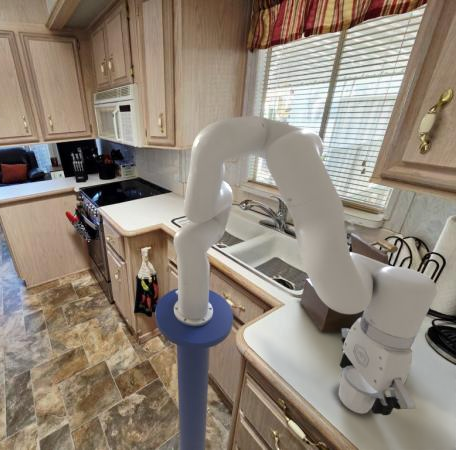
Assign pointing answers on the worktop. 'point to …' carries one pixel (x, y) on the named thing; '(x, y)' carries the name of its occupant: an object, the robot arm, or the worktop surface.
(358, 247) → the chest lid
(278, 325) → the worktop surface
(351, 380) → the white tapered cup
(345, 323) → the chest
